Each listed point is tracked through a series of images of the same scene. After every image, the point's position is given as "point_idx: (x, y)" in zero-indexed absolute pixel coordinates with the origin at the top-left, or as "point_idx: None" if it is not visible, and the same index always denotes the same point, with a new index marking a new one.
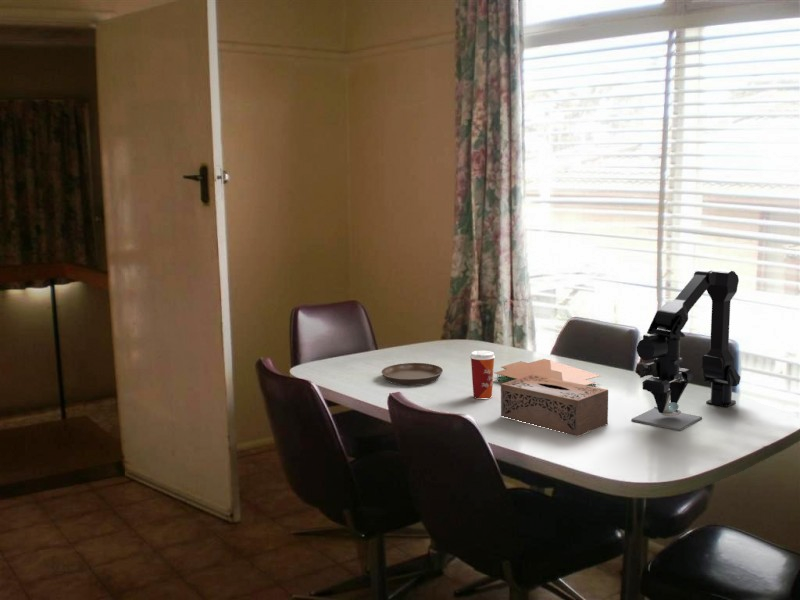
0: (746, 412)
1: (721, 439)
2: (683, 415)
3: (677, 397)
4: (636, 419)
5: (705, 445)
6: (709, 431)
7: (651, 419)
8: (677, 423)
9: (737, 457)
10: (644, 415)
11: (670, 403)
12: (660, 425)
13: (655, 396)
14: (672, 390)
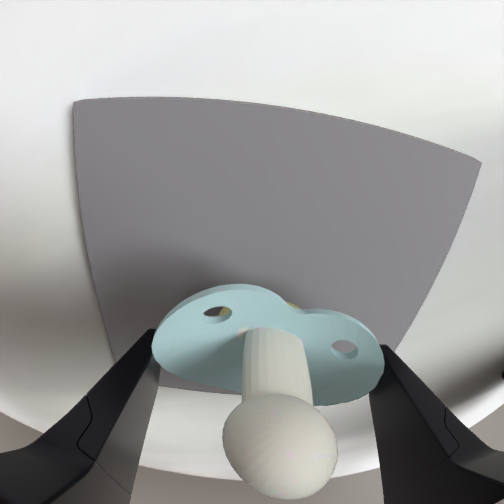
0: (454, 414)
1: (152, 441)
2: None
3: (379, 434)
4: (83, 140)
5: None
6: (203, 426)
7: (157, 234)
8: None
9: None
10: (232, 145)
11: (373, 361)
12: (101, 306)
13: (54, 443)
14: (421, 456)
